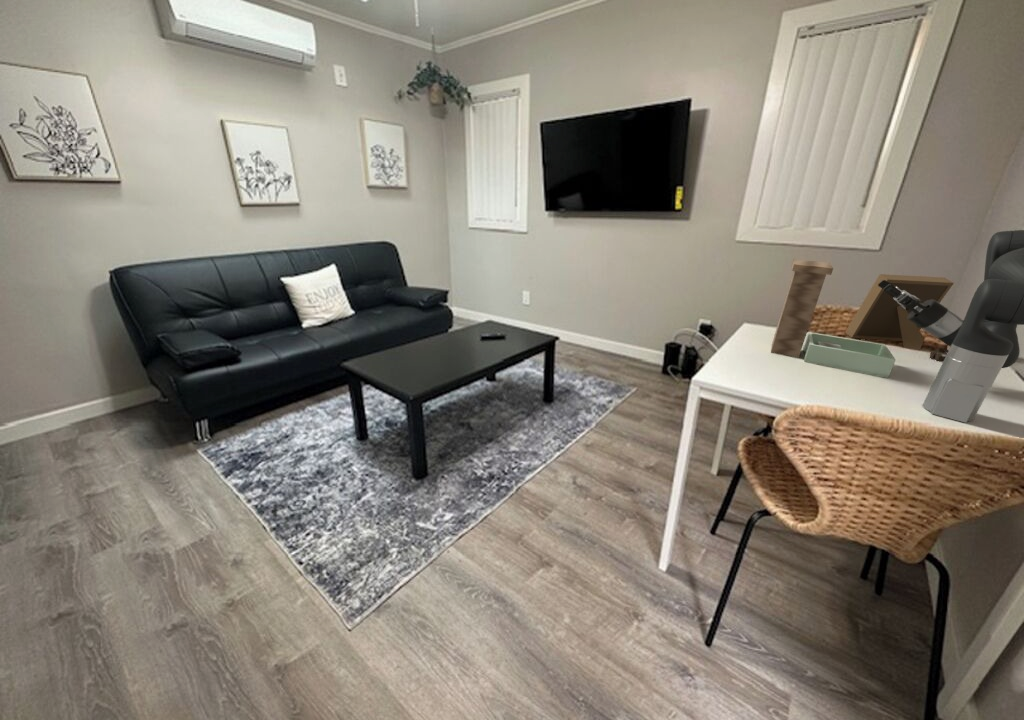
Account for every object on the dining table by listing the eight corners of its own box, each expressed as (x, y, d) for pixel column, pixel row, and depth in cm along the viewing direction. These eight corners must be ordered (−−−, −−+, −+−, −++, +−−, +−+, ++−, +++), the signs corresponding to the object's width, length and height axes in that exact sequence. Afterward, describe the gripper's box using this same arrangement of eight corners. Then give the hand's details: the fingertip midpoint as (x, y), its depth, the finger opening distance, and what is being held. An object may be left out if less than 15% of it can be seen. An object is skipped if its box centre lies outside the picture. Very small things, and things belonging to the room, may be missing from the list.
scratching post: (801, 348, 143) (829, 262, 131) (802, 360, 132) (833, 268, 120) (768, 342, 148) (793, 259, 136) (767, 353, 137) (793, 264, 125)
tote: (878, 361, 133) (885, 344, 131) (887, 378, 121) (895, 359, 118) (802, 347, 143) (808, 331, 141) (804, 361, 131) (810, 344, 129)
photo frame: (844, 334, 160) (868, 271, 150) (902, 337, 158) (931, 274, 148) (871, 347, 147) (899, 279, 137) (935, 351, 145) (968, 283, 135)
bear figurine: (912, 343, 144) (956, 341, 143) (908, 354, 146) (952, 352, 145) (961, 362, 128) (1011, 360, 126) (957, 374, 129) (1006, 373, 128)
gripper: (927, 334, 114) (875, 298, 117) (915, 322, 125) (867, 290, 128) (956, 314, 109) (900, 277, 113) (941, 304, 120) (890, 271, 124)
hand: (883, 284), depth 121 cm, fingers open, 8 cm apart
